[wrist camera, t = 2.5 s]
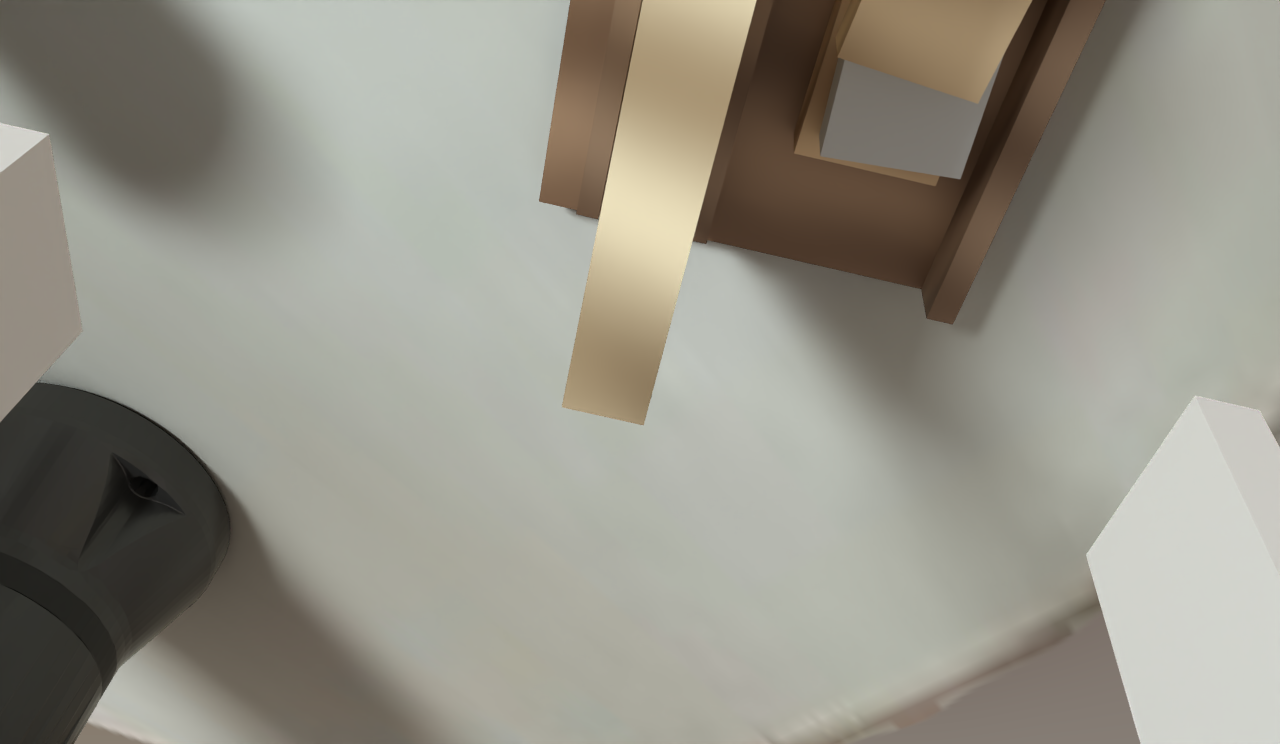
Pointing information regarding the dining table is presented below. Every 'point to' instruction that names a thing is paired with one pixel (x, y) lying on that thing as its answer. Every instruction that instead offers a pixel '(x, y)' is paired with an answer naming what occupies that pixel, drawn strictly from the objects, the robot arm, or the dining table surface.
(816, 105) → the offcut bottom
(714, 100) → the sheet
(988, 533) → the dining table surface
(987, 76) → the offcut top
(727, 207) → the rack
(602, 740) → the dining table surface
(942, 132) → the offcut middle
